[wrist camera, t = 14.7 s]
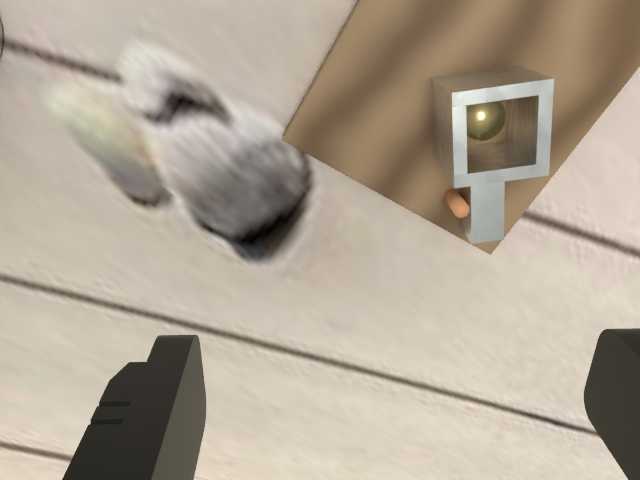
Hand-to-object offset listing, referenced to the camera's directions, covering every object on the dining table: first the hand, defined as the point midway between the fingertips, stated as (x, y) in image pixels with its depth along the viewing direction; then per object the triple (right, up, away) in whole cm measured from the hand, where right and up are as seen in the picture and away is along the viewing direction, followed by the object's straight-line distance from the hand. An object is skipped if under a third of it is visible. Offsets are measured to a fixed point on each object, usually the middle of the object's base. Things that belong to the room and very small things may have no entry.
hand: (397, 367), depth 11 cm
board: (+10, +15, +30) cm, 35 cm away
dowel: (+9, +6, +32) cm, 34 cm away
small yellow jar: (+10, +12, +29) cm, 33 cm away
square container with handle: (+11, +9, +31) cm, 34 cm away
